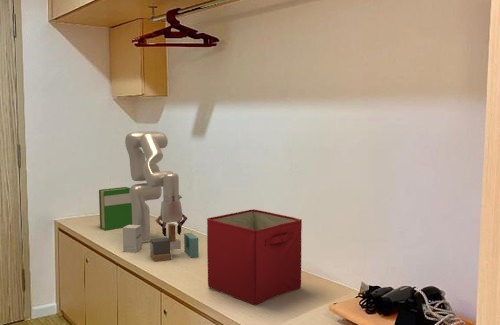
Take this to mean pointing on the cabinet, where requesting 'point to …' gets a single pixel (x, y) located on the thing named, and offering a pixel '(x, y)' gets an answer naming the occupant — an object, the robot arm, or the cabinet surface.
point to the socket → (191, 245)
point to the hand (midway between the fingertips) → (171, 234)
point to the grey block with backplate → (161, 249)
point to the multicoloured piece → (171, 239)
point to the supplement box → (132, 238)
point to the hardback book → (115, 208)
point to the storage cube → (254, 254)
